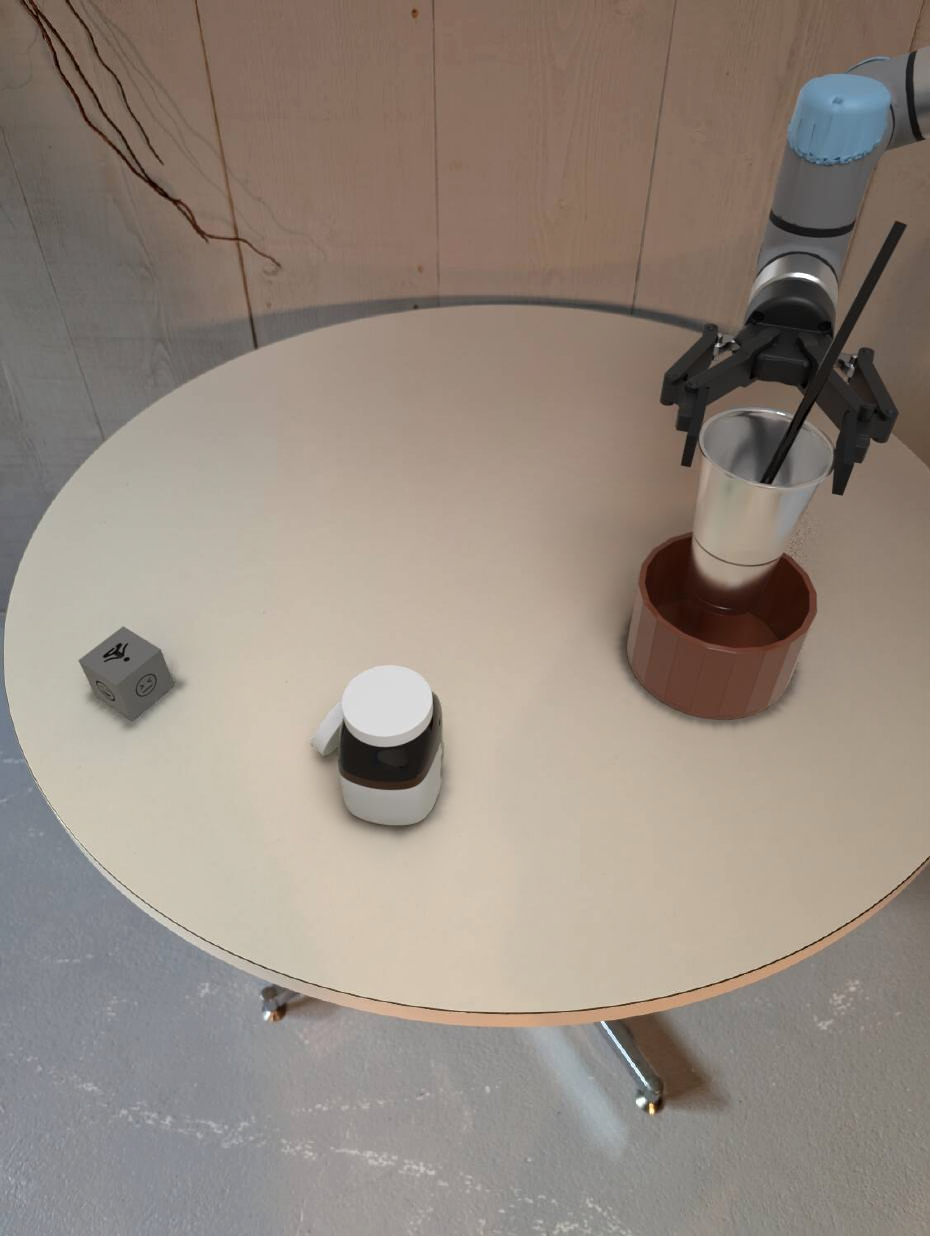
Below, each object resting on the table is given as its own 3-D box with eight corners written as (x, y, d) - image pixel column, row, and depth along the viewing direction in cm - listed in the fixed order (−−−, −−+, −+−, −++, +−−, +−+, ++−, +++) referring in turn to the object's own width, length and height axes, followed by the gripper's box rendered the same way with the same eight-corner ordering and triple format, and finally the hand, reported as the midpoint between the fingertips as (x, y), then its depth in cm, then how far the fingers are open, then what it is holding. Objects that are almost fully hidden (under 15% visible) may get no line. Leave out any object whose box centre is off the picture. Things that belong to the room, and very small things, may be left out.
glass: (786, 550, 82) (907, 217, 60) (794, 641, 75) (937, 299, 53) (666, 535, 84) (742, 204, 62) (662, 623, 76) (747, 282, 54)
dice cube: (138, 662, 86) (123, 626, 82) (174, 685, 84) (160, 649, 80) (95, 696, 83) (78, 660, 79) (132, 721, 81) (116, 685, 77)
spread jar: (430, 845, 72) (424, 761, 64) (293, 825, 74) (269, 741, 65) (456, 725, 80) (453, 636, 72) (332, 709, 82) (315, 620, 73)
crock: (824, 689, 83) (854, 622, 76) (679, 740, 79) (698, 674, 73) (731, 582, 93) (751, 514, 86) (598, 623, 89) (608, 555, 82)
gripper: (911, 377, 80) (913, 537, 65) (654, 337, 85) (603, 477, 70) (943, 296, 74) (953, 451, 60) (667, 258, 79) (614, 392, 65)
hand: (764, 465), depth 65 cm, fingers closed on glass, 10 cm apart
